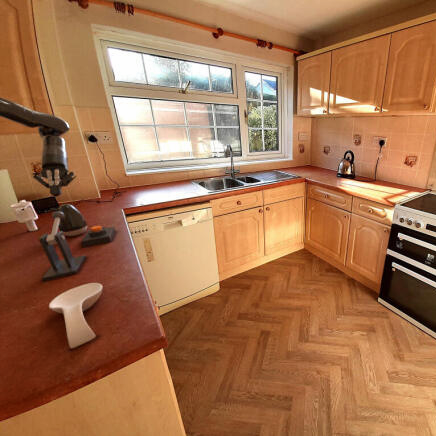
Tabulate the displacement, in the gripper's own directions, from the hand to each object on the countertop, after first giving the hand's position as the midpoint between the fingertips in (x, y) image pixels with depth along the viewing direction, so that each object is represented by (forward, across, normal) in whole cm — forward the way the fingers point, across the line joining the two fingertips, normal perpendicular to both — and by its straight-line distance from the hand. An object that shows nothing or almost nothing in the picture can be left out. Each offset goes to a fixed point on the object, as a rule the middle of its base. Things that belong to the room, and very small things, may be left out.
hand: (55, 195), depth 93 cm
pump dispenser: (+2, -6, +31) cm, 32 cm away
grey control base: (+11, +6, +22) cm, 26 cm away
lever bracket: (+28, 0, +6) cm, 29 cm away
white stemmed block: (-11, -28, +44) cm, 53 cm away
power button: (+8, +6, +19) cm, 22 cm away
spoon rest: (+52, +12, -18) cm, 56 cm away
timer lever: (+14, 0, +1) cm, 14 cm away
